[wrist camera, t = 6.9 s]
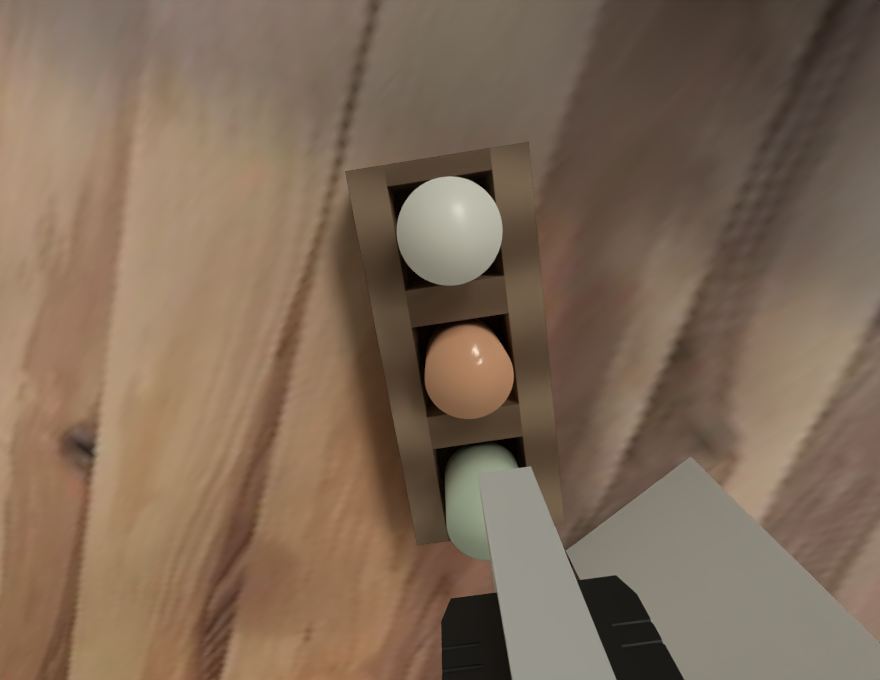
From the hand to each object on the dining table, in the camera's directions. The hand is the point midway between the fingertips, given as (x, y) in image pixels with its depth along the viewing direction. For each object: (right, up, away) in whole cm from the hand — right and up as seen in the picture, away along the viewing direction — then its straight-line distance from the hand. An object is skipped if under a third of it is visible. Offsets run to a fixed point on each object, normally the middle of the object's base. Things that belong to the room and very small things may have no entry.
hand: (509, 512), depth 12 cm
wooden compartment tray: (0, +4, +18) cm, 18 cm away
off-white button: (-2, +11, +13) cm, 17 cm away
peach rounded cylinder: (0, +4, +17) cm, 17 cm away
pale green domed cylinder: (+1, -4, +17) cm, 17 cm away
